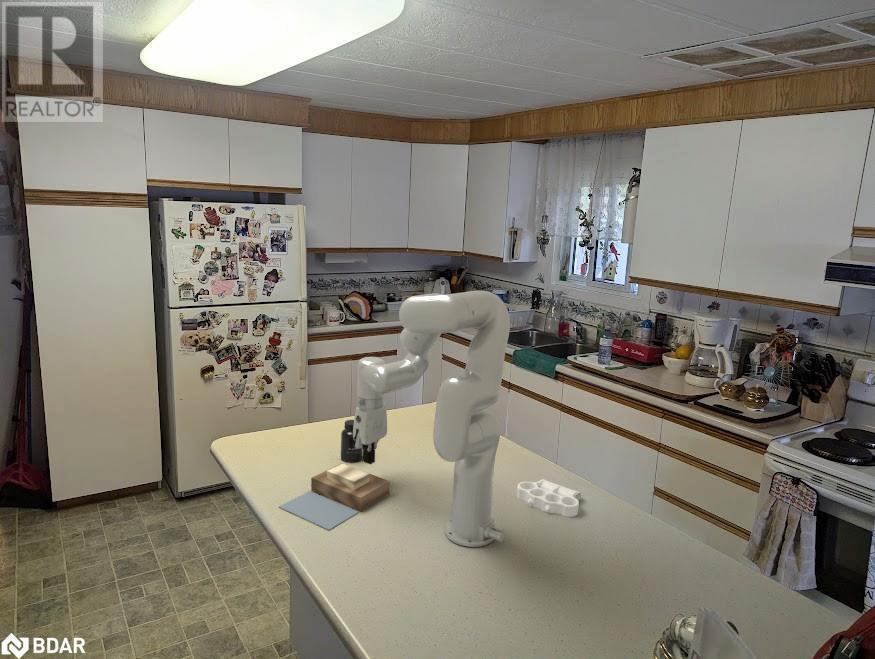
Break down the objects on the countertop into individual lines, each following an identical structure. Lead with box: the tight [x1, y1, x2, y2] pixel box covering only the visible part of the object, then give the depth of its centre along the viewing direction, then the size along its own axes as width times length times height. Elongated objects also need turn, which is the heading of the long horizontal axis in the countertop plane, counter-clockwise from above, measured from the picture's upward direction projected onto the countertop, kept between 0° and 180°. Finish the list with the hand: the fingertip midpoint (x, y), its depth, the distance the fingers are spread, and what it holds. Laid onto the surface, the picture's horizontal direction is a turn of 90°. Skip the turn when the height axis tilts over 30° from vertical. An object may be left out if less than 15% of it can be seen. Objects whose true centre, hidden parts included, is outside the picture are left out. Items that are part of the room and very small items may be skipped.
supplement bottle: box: [340, 419, 363, 463], centre depth 185 cm, size 7×7×12 cm
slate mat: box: [278, 490, 360, 532], centre depth 154 cm, size 18×11×1 cm, turn 56°
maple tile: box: [327, 463, 370, 490], centre depth 162 cm, size 10×6×2 cm, turn 56°
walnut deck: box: [310, 462, 391, 513], centre depth 164 cm, size 18×12×4 cm, turn 56°
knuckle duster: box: [516, 478, 582, 518], centre depth 164 cm, size 3×18×15 cm
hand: (368, 461), depth 169 cm, fingers closed
